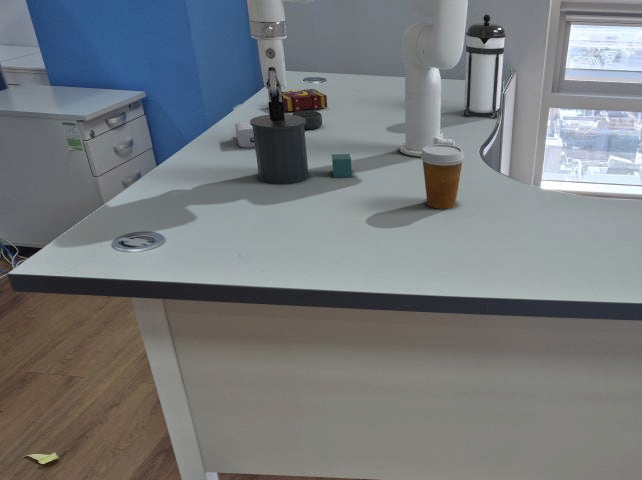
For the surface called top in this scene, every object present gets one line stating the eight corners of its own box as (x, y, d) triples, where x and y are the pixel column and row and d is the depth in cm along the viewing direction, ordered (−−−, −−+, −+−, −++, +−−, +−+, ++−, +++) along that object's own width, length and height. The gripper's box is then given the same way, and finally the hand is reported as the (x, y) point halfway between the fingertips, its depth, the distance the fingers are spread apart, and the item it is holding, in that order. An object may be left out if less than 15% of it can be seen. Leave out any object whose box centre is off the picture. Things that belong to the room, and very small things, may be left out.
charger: (268, 132, 192) (274, 145, 180) (235, 134, 189) (239, 147, 178) (266, 115, 189) (272, 128, 178) (233, 117, 187) (236, 129, 175)
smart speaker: (325, 124, 202) (324, 110, 200) (318, 131, 195) (317, 117, 193) (297, 122, 203) (296, 109, 201) (289, 129, 196) (287, 115, 193)
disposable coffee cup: (431, 214, 140) (432, 157, 134) (413, 200, 147) (413, 145, 140) (470, 208, 144) (473, 153, 137) (450, 194, 151) (452, 141, 144)
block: (350, 171, 163) (349, 153, 161) (352, 176, 160) (351, 158, 157) (332, 172, 162) (331, 154, 160) (333, 177, 159) (332, 159, 156)
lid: (305, 118, 158) (303, 91, 155) (307, 132, 148) (304, 103, 144) (251, 119, 155) (248, 92, 152) (249, 133, 145) (245, 103, 142)
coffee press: (514, 116, 221) (523, 16, 204) (476, 120, 213) (482, 17, 196) (484, 105, 232) (489, 10, 216) (447, 110, 225) (449, 11, 208)
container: (307, 168, 164) (303, 116, 157) (309, 183, 154) (304, 128, 148) (259, 170, 162) (253, 117, 155) (258, 184, 152) (251, 129, 145)
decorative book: (328, 108, 220) (327, 93, 217) (282, 113, 212) (281, 97, 210) (314, 102, 228) (313, 87, 225) (269, 106, 220) (268, 90, 217)
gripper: (286, 35, 134) (294, 125, 144) (286, 25, 148) (293, 108, 158) (248, 35, 133) (259, 126, 143) (251, 25, 147) (261, 108, 157)
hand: (277, 116), depth 150 cm, fingers open, 6 cm apart
